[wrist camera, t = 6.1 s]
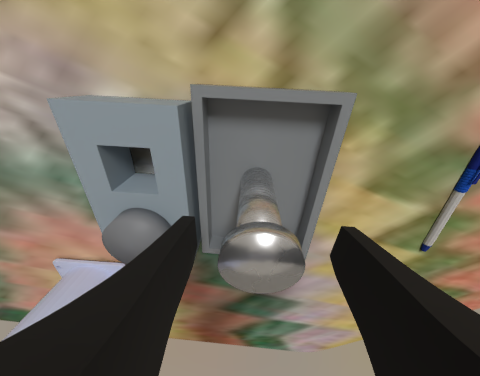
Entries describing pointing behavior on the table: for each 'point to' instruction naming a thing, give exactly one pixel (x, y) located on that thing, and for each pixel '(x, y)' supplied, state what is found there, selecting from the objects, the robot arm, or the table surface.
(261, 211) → the lock pin
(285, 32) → the table surface
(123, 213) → the block
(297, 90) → the tray
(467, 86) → the table surface
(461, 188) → the ballpoint pen
